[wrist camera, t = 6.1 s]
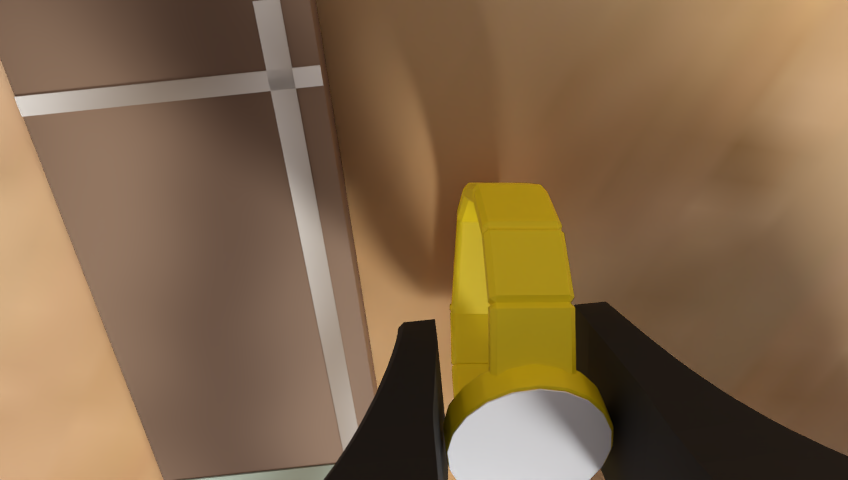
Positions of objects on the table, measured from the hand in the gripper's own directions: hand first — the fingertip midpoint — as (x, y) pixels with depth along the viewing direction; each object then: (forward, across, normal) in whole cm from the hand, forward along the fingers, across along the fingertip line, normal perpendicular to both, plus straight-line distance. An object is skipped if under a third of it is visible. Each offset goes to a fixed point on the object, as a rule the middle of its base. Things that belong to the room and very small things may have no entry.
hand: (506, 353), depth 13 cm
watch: (+3, 0, 0) cm, 4 cm away
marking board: (+4, +6, +2) cm, 7 cm away
